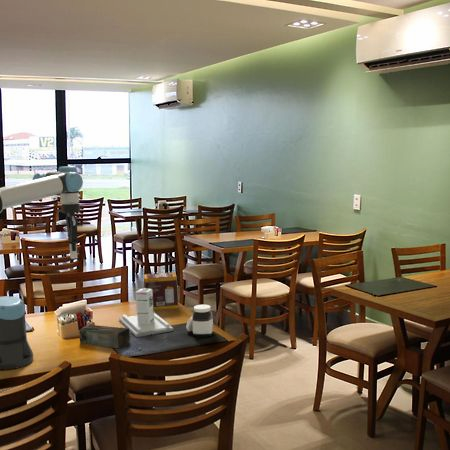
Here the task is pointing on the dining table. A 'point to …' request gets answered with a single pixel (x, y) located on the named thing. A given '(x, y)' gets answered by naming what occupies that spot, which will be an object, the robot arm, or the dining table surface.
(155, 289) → the supplement box
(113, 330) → the dark grey rectangular block
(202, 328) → the spread jar
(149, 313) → the syrup box
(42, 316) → the dining table surface
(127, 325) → the panel
